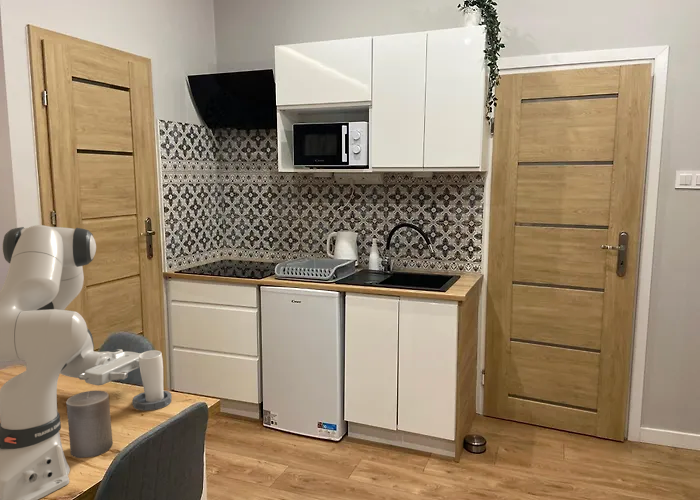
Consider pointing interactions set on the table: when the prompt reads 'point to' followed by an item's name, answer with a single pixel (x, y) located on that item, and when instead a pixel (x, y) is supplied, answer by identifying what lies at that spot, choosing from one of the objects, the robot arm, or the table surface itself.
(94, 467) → the table surface
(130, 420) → the table surface
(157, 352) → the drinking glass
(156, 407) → the coaster
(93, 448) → the pillar candle
